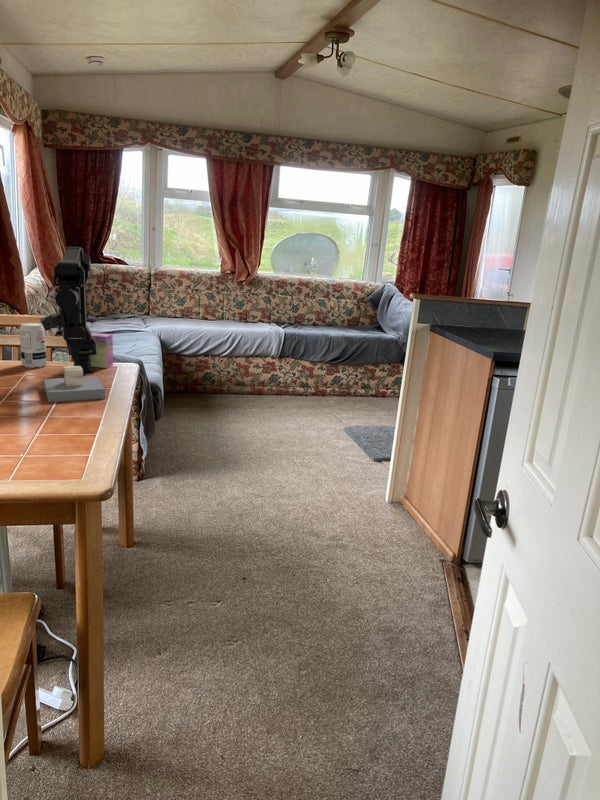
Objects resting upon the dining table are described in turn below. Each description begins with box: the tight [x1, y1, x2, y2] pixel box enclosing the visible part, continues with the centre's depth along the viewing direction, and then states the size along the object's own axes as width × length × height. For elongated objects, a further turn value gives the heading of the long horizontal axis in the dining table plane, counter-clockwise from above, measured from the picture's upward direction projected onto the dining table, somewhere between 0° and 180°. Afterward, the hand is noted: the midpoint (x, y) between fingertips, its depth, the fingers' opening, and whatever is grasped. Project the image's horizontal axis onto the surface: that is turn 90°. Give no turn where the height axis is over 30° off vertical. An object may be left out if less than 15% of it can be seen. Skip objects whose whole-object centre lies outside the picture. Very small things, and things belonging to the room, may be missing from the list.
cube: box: [63, 365, 84, 386], centre depth 186 cm, size 5×5×5 cm
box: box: [90, 332, 114, 369], centre depth 222 cm, size 10×6×12 cm, turn 84°
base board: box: [43, 375, 106, 403], centre depth 188 cm, size 16×16×3 cm
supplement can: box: [18, 322, 48, 369], centre depth 216 cm, size 8×8×15 cm
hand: (72, 356), depth 185 cm, fingers open, 9 cm apart
